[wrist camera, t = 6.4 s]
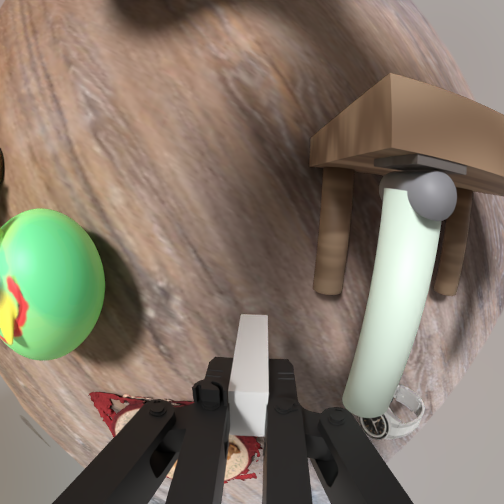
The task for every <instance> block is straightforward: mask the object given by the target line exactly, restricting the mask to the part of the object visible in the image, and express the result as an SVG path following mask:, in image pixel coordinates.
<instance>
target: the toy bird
mask: <svg viewBox="0 0 504 504" xmlns="http://www.w3.org/2000/svg"><path fill="white" fill-rule="evenodd" d="M104 294H105V277H104V270H103V266H102V262H101V259H100V256H99V253H98V251H97V249H96V247H95V245H94V243H93V241H92V240H91V238H90V237H89V235H88V234H87V233H86V231H85V230H84V229H83V228H82V227H81V226H80V225H79V224H78V223H76V222H75V221H74V220H72V219H71V218H69V217H68V216H66V215H64V214H62V213H60V212H57V211H54V210H50V209H32V210H28V211H25V212H22V213H20V214H18V215H16V216H15V217H13V218H12V219H10V220H9V221H8V222H7V223H5V224H4V225H3V226H2V227H1V228H0V338H1V339H2V341H3V342H4V343H5V344H6V345H7V346H9V347H10V348H11V349H12V350H14V351H15V352H17V353H18V354H20V355H22V356H24V357H27V358H30V359H34V360H52V359H57V358H60V357H62V356H64V355H66V354H68V353H70V352H71V351H73V350H74V349H76V348H77V347H78V346H79V345H80V344H81V343H82V342H83V341H84V340H85V339H86V338H87V336H88V335H89V334H90V332H91V331H92V329H93V328H94V326H95V324H96V322H97V320H98V318H99V315H100V312H101V309H102V306H103V301H104Z"/></svg>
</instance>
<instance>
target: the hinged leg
mask: <svg viewBox="0 0 504 504" xmlns="http://www.w3.org/2000/svg"><path fill="white" fill-rule="evenodd" d="M379 195H380V198H381V200H382V202H383V206H382V215H381V223H380V231H379V238H378V245H377V252H376V258H375V264H374V270H373V276H372V281H371V287H370V292H369V297H368V302H367V306H366V311H365V315H364V320H363V324H362V328H361V333H360V337H359V341H358V345H357V349H356V352H355V356H354V360H353V363H352V367H351V370H350V374H349V377H348V381H347V384H346V387H345V390H344V394H343V397H342V402H343V405H344V406H345V408H346V409H347V410H348V411H349V412H351V413H352V414H354V415H356V416H359V417H364V418H375V417H379V416H381V415H383V414H384V413H385V412H386V411H387V410H388V408H389V405H390V403H391V401H392V398H393V396H394V394H395V391H396V389H397V387H398V384H399V382H400V379H401V376H402V374H403V371H404V369H405V366H406V363H407V360H408V358H409V355H410V352H411V349H412V346H413V343H414V340H415V337H416V333H417V330H418V327H419V324H420V320H421V317H422V313H423V309H424V306H425V302H426V298H427V294H428V290H429V286H430V281H431V277H432V272H433V268H434V263H435V257H436V252H437V246H438V241H439V234H440V228H441V221H443V220H445V219H447V218H448V217H449V216H450V215H451V214H452V213H453V211H454V209H455V206H456V202H457V191H456V187H455V185H454V182H453V181H452V179H451V178H450V177H449V176H448V175H447V174H445V173H443V172H439V171H393V172H389V173H387V174H386V175H384V176H383V178H382V179H381V181H380V184H379Z"/></svg>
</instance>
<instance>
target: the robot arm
mask: <svg viewBox="0 0 504 504" xmlns="http://www.w3.org/2000/svg"><path fill="white" fill-rule="evenodd" d="M192 390H193V399H194V403H192V404H190V405H187V406H181V407H174V406H173V405H172V404H171V403H170V402H168V401H166V400H161V399H155V400H151V401H148V402H147V403H145V404H144V405H143V406H142V407H141V408H140V409H139V411H138V412H137V413H136V414H135V415H134V416H133V417H132V418H131V419H130V420H129V422H128V423H127V424H126V425H125V426H124V427H123V428H122V429H121V430H120V431H119V433H118V434H117V435H116V436H115V437H114V438H113V439H112V440H111V441H110V442H109V443H108V445H107V446H106V447H105V448H104V449H103V450H102V451H101V452H100V453H99V454H98V455H97V456H96V458H95V459H94V460H93V461H92V462H91V463H90V464H89V465H88V466H87V467H86V468H85V469H84V470H83V471H82V473H81V474H80V475H79V476H78V477H77V478H76V479H75V480H74V481H73V482H72V483H71V484H70V485H69V486H68V487H67V489H66V490H65V491H64V492H63V493H62V494H61V495H60V496H59V497H58V498H57V499H56V500H55V501H54V502H53V503H52V504H148V502H149V501H150V499H151V498H152V497H153V495H154V494H155V492H156V491H157V489H158V488H159V486H160V485H161V483H162V482H163V480H164V479H165V477H166V476H167V474H168V473H169V471H170V470H171V468H172V467H173V465H174V464H175V462H176V461H177V464H176V467H175V471H174V474H173V478H172V481H171V485H170V489H169V492H168V496H167V499H166V503H165V504H221V501H222V494H223V486H224V478H225V471H226V463H227V455H228V448H229V434H230V435H240V436H262V437H264V449H263V456H264V458H263V496H262V504H312V494H311V485H310V476H309V467H308V458H310V460H311V463H312V465H313V467H314V469H315V471H316V473H317V475H318V478H319V480H320V482H321V484H322V486H323V488H324V490H325V492H326V494H327V496H328V498H329V501H330V503H331V504H413V502H412V501H411V499H410V498H409V496H408V495H407V493H406V492H405V491H404V489H403V488H402V486H401V485H400V483H399V482H398V480H397V479H396V478H395V476H394V475H393V473H392V472H391V470H390V469H389V468H388V466H387V465H386V463H385V462H384V460H383V459H382V457H381V456H380V454H379V453H378V452H377V450H376V449H375V447H374V446H373V444H372V443H371V441H370V440H369V438H368V437H367V436H366V434H365V433H364V431H363V430H362V428H361V427H360V425H359V424H358V422H357V421H356V419H355V418H354V417H353V415H352V414H351V413H350V412H349V411H348V410H346V409H343V408H339V407H333V408H328V409H326V410H324V411H323V412H322V413H321V414H320V413H315V412H311V411H308V410H306V409H304V408H303V407H302V406H301V405H300V404H299V403H298V400H297V392H296V384H295V376H294V369H293V365H292V364H291V362H290V361H289V360H288V359H268V315H251V314H241V317H240V323H239V329H238V335H237V341H236V347H235V353H234V358H224V357H215V358H214V359H212V360H211V361H210V362H209V365H208V369H207V372H206V376H205V379H204V380H201V381H198V382H197V383H195V384H194V386H193V387H192ZM307 457H308V458H307ZM177 459H178V460H177Z"/></svg>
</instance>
